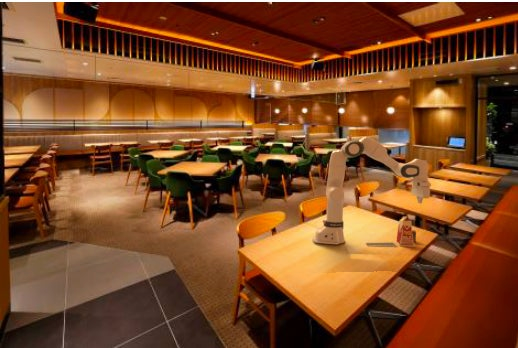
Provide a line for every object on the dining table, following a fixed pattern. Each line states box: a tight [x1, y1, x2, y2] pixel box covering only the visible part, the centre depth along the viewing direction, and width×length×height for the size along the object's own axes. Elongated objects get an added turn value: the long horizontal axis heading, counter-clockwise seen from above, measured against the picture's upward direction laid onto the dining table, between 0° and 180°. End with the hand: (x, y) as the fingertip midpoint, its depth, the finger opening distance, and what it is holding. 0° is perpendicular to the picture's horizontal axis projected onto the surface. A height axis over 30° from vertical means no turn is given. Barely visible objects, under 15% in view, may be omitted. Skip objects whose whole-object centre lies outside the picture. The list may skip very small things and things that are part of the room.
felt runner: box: [365, 241, 398, 248], centre depth 195 cm, size 19×9×1 cm, turn 82°
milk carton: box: [396, 215, 415, 248], centre depth 194 cm, size 9×9×20 cm
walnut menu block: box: [412, 229, 417, 243], centre depth 199 cm, size 4×4×8 cm
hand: (419, 203), depth 192 cm, fingers closed
